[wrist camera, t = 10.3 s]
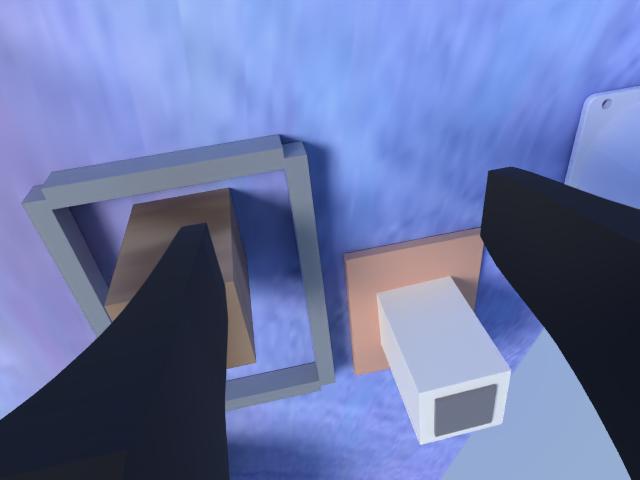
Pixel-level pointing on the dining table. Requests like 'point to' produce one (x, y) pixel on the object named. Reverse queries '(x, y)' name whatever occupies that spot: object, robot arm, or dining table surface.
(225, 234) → the walnut block
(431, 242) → the terracotta mat
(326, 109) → the dining table surface
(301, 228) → the grey rectangular frame
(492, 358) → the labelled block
